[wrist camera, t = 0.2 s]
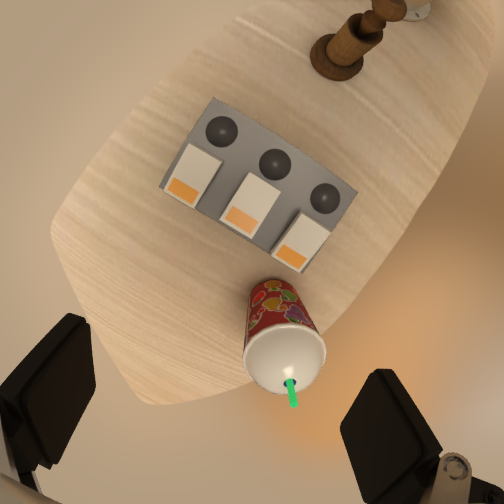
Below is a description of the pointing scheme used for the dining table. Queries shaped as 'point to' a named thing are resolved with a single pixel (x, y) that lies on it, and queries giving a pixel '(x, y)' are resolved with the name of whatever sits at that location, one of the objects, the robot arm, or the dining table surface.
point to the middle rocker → (250, 205)
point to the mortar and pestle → (354, 40)
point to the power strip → (264, 174)
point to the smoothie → (281, 341)
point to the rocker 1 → (192, 175)
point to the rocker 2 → (300, 242)
